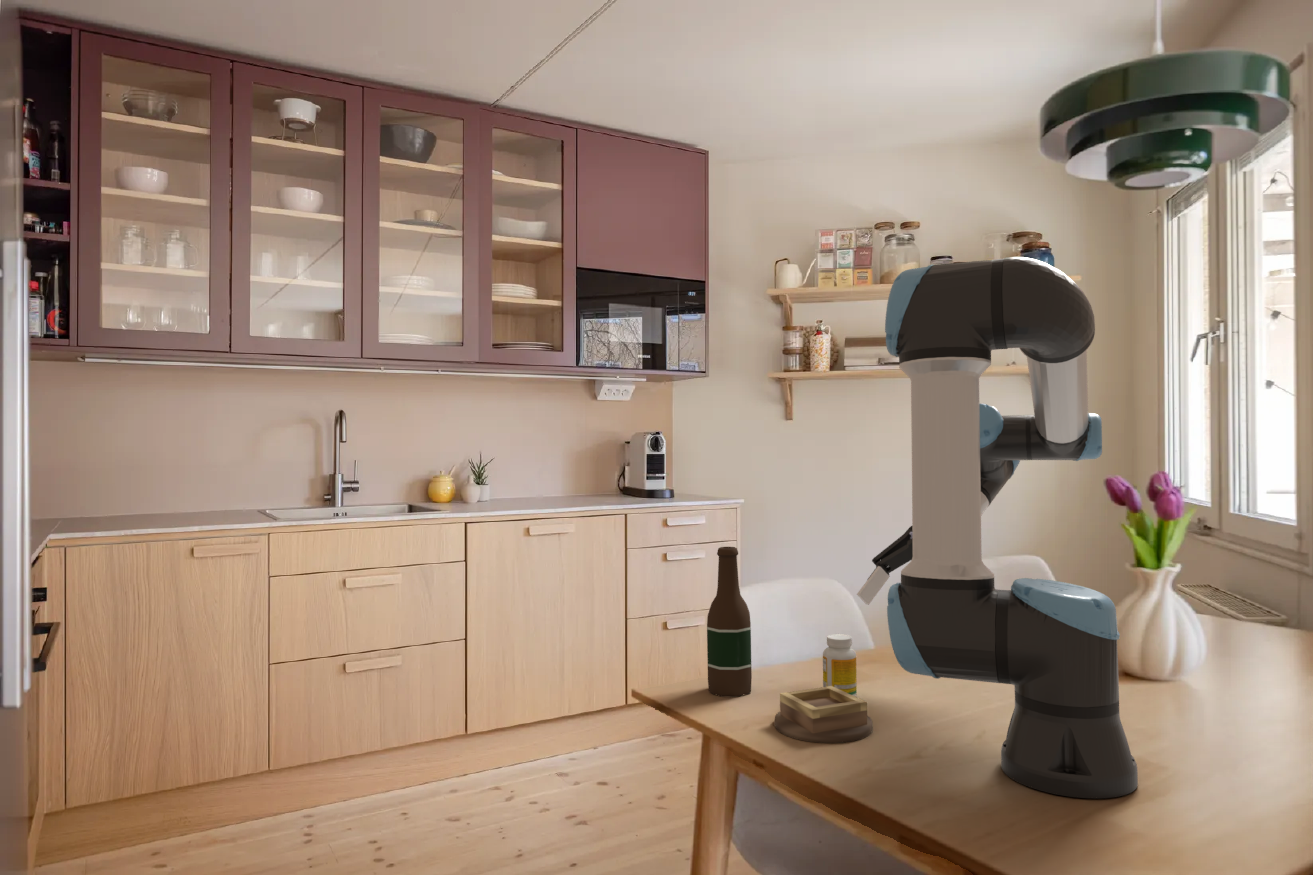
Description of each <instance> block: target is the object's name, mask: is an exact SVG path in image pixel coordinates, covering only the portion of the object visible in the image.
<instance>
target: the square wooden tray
mask: <svg viewBox="0 0 1313 875" xmlns="http://www.w3.org/2000/svg"><path fill="white" fill-rule="evenodd" d="M779 706H780V707H779V712H777V713H775V715H774V728H775V729H776V731H777V732H779V733H780V734H782V735H783V736H786V737H788V738H792V739H795V740H799V741H804V742H809V743H817V744H819V743H820V744H840V743H841V744H843V743H849V742H857V741H858V740H861V739H864V738H865V739H866V738H867V737H869V736H870V735H871V734H872V733H873V728H874V726H873V719H872V718H871V717H870V716H869V715H868V701H866V700H864V699H861V698H859V697H858V696H857V697H856V696H853V695H851V694H848V693H846V692H844V691H842V690H839V689H837V688H835V687H833V686H828V687H823V686H822V687H815V688H814V687H813V688H809V689H808V688H807V689H802V690H794V691H793V690H792V691H787V692H780V693H779Z"/></svg>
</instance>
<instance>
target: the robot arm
mask: <svg viewBox="0 0 1313 875" xmlns="http://www.w3.org/2000/svg"><path fill="white" fill-rule="evenodd" d="M1095 323H1096V321H1095V314H1094V310H1093V307H1092V305H1091V302H1090V301H1089V299H1088V297H1087V296H1086V294H1085V293H1084V291H1083V290H1082V289H1081V288H1080V286H1079V285H1078V284H1077V283H1076V282H1075V281H1074V280H1073V279H1072V278H1071V277H1069V276H1068V275H1067V274H1066V273H1065V272H1063V271H1061V270H1060V269H1059V268H1056V267H1054V266H1052V265H1050V264H1048V263H1046V262H1044V261H1042V260H1038V259H1035V258H1030V257H1024V256H1010V257H1003V258H997V259H986V260H973V261H962V262H952V263H951V262H950V263H940V264H934V263H931V264H930V265H929V264H928V265H927V266H923V267H916V268H915V267H914V268H909V269H906V270H903V271H901V272H900V273H899V274H898V275H897V277H895V279H894V280H893V283H892V286H891V287H890V291H889V295H888V299H887V304H886V312H885V323H884V324H885V325H884V333H885V347H886V350H887V352H888V354H889V355H890V356H893V357H895V358H898V365H899V366H898V367H899V369H900V370H901V372H903V373H904V374H905V375H906V376H907V377H908V378H909V380H910V412H911V413H910V414H911V418H910V419H911V421H910V422H911V424H910V426H911V496H912V497H911V500H912V501H911V503H912V506H911V508H912V510H911V511H912V512H911V515H912V516H911V518H912V519H911V520H912V524H911V525H910V526H909V528H908V529H906V531H905V532H904V533H903V534H902V535H901V536H899V537H898V538H897V539H896V540H894V541H893V542H892V543H891V544H890V545H888V546H887V547H886V548H884V549H883V550H882V551H880V552H879V553H878V554H876V556H874V557H873V558H872V559H871V562H872V563H873V564H874V565H875V568H874V570H873V571H872V572H871V574H870V575H869V576H868V578H867V580H866V581H865V583H864V584H863V585H862V587H861V588H860V589H859V590H858V592H857V593H856V595H857V597H859V598H860V599H861V600H862V602H864V604H865V605H870V604H871V602H872V601H873V600H874V599H875V597H876V596H877V594H878V593H879V592H880V590H882V587H883V586H884V585H885V584H886V582H888V580H889V579H890V577H891V576H890V573H892V572H893V571H895V570H897V569H898V568H900V567H902V566H904V565H905V564H906V565H905V566H904V568H902V569H901V570H900V582H896V583H894V584H892V585H891V586H889V589H888V593H887V606H886V612H887V613H886V616H887V625H888V633H889V637H890V643H891V647H892V651H893V653H894V656H895V659H896V660H897V663H898V664H899V666H900V667H901V668H902V669H903V670H904V671H906V672H908V673H909V674H914V675H920V676H927V677H932V678H933V679H941V678H944V679H953V680H954V679H955V680H962V681H963V680H965V681H972V682H973V681H975V682H983V683H984V682H985V683H991V684H992V683H993V684H994V683H995V684H1005V685H1013V686H1014V709H1013V712H1012V715H1011V718H1010V721H1009V724H1008V727H1007V732H1006V737H1005V740H1004V741H1003V742H1002V745H1001V749H1000V761H1001V762H1000V767H1001V770H1002V771H1003V773H1004V774H1005V775H1006V776H1007V777H1009V778H1010V779H1012V780H1013V781H1015V782H1017V783H1019V784H1021V785H1023V786H1025V787H1028V788H1030V789H1031V788H1032V789H1034V790H1037V791H1041V792H1044V793H1048V794H1052V795H1057V796H1064V797H1070V798H1080V799H1081V798H1082V799H1110V798H1111V799H1112V798H1118V797H1124V796H1126V795H1130V794H1131V793H1132V792H1135V790H1136V789H1137V788H1138V786H1139V783H1138V781H1139V780H1138V779H1139V778H1138V763H1137V762H1136V759H1135V757H1134V756H1133V755H1132V753H1131V749H1130V746H1129V742H1128V739H1127V736H1126V733H1125V730H1124V726H1123V723H1122V721H1121V715H1120V686H1119V681H1120V680H1119V659H1118V658H1119V657H1118V656H1119V654H1118V653H1119V652H1118V640H1120V632H1119V630H1118V618H1117V610H1116V609H1117V608H1116V606H1115V603H1114V602H1113V600H1112V599H1111V598H1110V597H1109V596H1108V595H1106V594H1104V593H1102V592H1100V591H1097V590H1096V589H1092V588H1090V587H1086V586H1083V585H1079V584H1075V583H1069V582H1066V581H1065V582H1064V581H1058V580H1052V579H1044V578H1034V579H1033V578H1029V577H1024V578H1023V577H1022V578H1017V579H1014V580H1013V582H1012V584H1011V586H1010V590H1008V589H996V588H995V573H994V572H992V571H991V570H990V569H989V568H988V567H987V566H986V564H985V563H984V562H983V560H982V558H983V557H982V554H983V553H982V515H983V514H984V512H985V511H986V510H987V508H988V507H990V505H991V504H992V503H993V501H994V499H995V498H996V497H997V495H998V494H999V493H1000V492H1001V490H1002V489H1003V487H1004V486H1005V485H1006V483H1007V482H1008V481H1009V480H1010V479H1011V478H1012V476H1013V475H1014V474H1015V471H1016V469H1017V468H1018V466H1019V464H1020V462H1021V461H1075V462H1078V461H1083V460H1097V459H1099V458H1100V457H1101V456H1102V453H1103V429H1102V428H1103V426H1102V423H1103V422H1102V417H1101V416H1100V415H1099V414H1097V413H1095V412H1089V397H1088V396H1089V394H1088V393H1089V392H1088V389H1089V388H1088V354H1087V353H1088V349H1089V348H1091V345H1092V343H1093V342H1094V339H1095V334H1096V324H1095ZM1007 349H1019V350H1020V351H1021V352H1022V354H1023V355H1024V356H1025V357H1026V360H1027V368H1028V376H1029V382H1030V384H1029V385H1030V391H1031V398H1032V399H1031V400H1032V406H1033V413H1034V414H1016V415H1015V414H1013V415H1002V414H1001V413H1000V411H999V410H998V409H997V408H996V407H995V406H992V405H989V404H986V403H984V402H983V403H980V378H981V376H982V375H983V373H984V372H985V371H986V370H988V368H990V367H991V365H992V351H993V350H995V351H996V350H1007ZM908 562H909V563H908Z"/></svg>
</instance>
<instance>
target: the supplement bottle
mask: <svg viewBox="0 0 1313 875" xmlns="http://www.w3.org/2000/svg"><path fill="white" fill-rule="evenodd" d="M826 644H827V646H828V647H826V648H825V649H823V652H822V687H828V686H833V687H835V688H837V689H839V690H842V691H844V692H846V693H848V694H851V695H853V696H855V697H856V696H857V690H858V687H857V652H856V651H855V650H854V649H853V648H851V647H852V645H853V638H852V636H851V635H849V634H843V633H838V634H837V633H835V634H828V635H827V636H826Z"/></svg>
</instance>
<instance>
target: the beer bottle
mask: <svg viewBox="0 0 1313 875" xmlns="http://www.w3.org/2000/svg"><path fill="white" fill-rule="evenodd" d="M738 555H739V551H738V548H737V547H735V546H720V547H718V549H717V552H716V556H718V566H717V567H718V568H717V569H718V570H717V588H716V595H715V597H714V598H713V600H712V602H711V604H710V607H709V609H708V610H709V611H708V613H707V621H706V622H707V623H706V642H707V644H706V646H707V649H706V650H707V651H706V652H707V654H706V655H707V684H708V685H707V687H708V692H709V694H712V695H715V694H717V695H716V696H718V695H719V697H721V696H739V697H741V696H740V695H743V694H747V695H749V694H748V693H750V694H751V692H752V675H753V674H752V673H753V672H752V633H751V632H752V628H751V626H752V624H751V613H750V610H749V608H748V605H747V602H746V601H745V600H744V598H743V597H742V595H741V589H740V584H739V582H740V581H739V570H738ZM743 696H744V695H743Z"/></svg>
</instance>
